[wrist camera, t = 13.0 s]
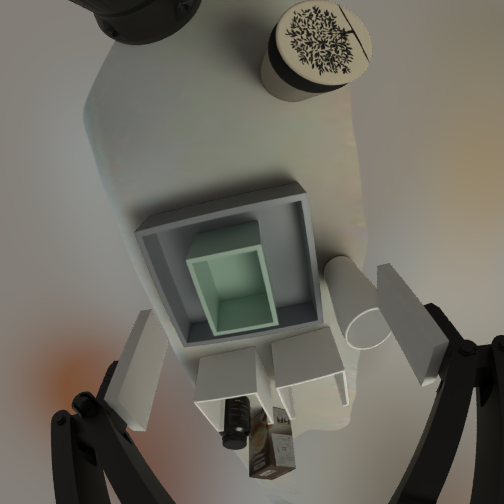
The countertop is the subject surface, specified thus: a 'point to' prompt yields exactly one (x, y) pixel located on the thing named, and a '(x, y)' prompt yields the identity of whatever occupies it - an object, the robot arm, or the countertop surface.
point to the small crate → (233, 279)
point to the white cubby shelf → (257, 381)
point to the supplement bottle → (236, 423)
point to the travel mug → (315, 51)
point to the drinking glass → (355, 304)
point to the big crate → (276, 249)
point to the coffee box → (271, 446)
